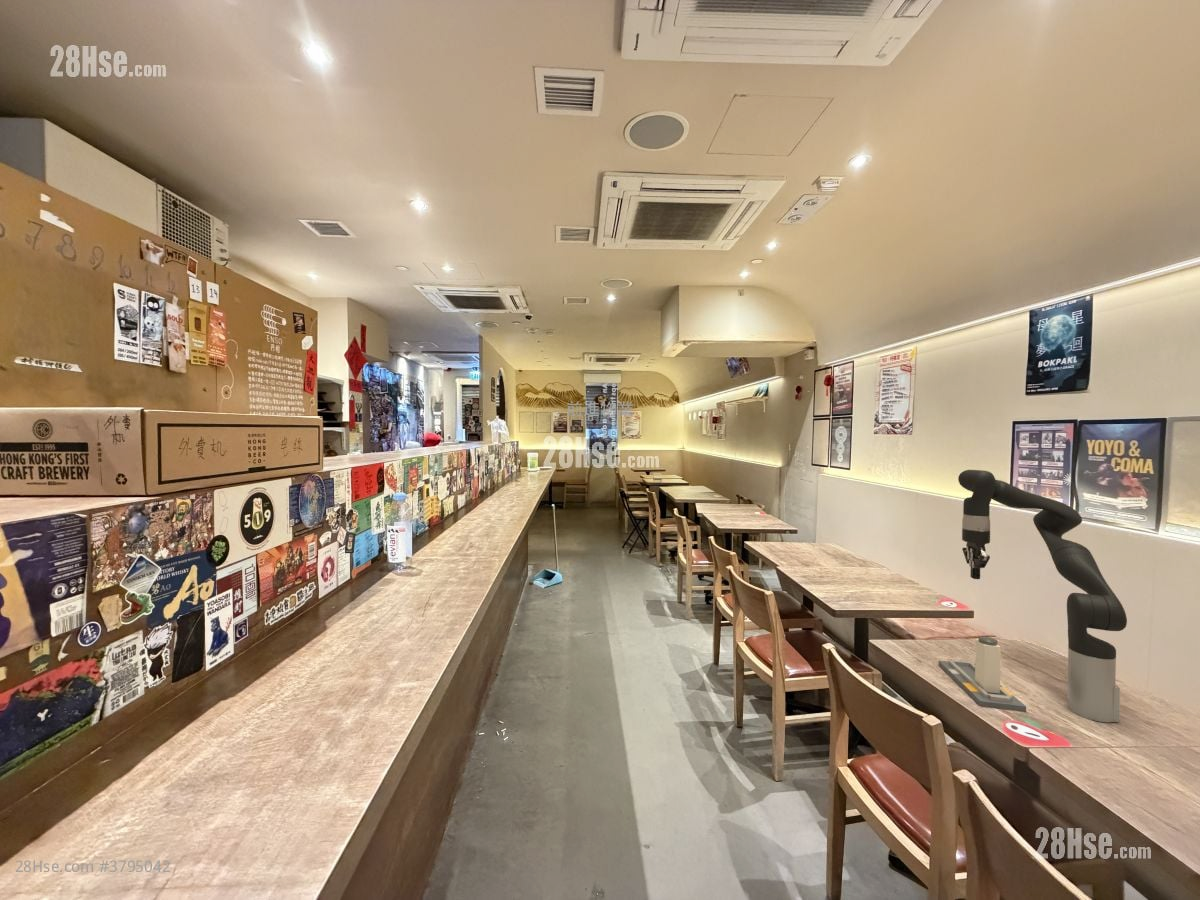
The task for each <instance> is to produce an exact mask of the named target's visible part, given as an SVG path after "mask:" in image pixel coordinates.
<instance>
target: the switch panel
mask: <svg viewBox="0 0 1200 900" xmlns="http://www.w3.org/2000/svg"><path fill="white" fill-rule="evenodd" d="M938 666H939V667H940V668H941V669H942V670H943V671H944V672H945V673H946V674H947V675H948V676H949V677H950V678H951V679H952V680H953V681H954V682H955V683H957V685H958V686H959V687H960V688H961V689H962V690H963V691H964V692H966V694H967V695H969V696H970V698H971V699H972V700H973V701H974V702H975V703H976V704H977V705H978V706H979V707H982V708H991V709H998V710H1000V709H1001V710H1008V711H1016V712H1025V713H1026V712H1027V705H1025V704H1024V703H1023V702H1021V701H1020V700H1019V699H1018V698H1017V697H1016V696H1014V694H1013V693H1011V692H1010V691H1009V690H1008V689H1007V688H1005V687H1004V686H1003V685H1001V684H1000V694H999V693H990V692H986V691H985V690H983V689H982V688H981V687H980V686H979V685H978V684H977V683H976V682H975V663H973V662H971V661H968V660H962V659H948V660H947V661H946V660H938Z"/></svg>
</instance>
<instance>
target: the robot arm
mask: <svg viewBox="0 0 1200 900" xmlns="http://www.w3.org/2000/svg"><path fill="white" fill-rule="evenodd" d="M957 479H958V484H959V485H960V486H961V487H962V488H963V489H965V490H967V491H969V492H971V493H972V495H971V496H970V497H966V498H964V499H963V507H962V508H963V509H962V510H963V511H962V512H963V513H962V514H963V515H962V520H961V521H962V523H961V525H962V527H961V540H962V541H963V542H965V543H966V547H962V553H963V556H964V559H965V561H966V564H967V565H969V568H970V574H969V575H970V578H972V579H973V580H980V579H981V569H985V568H986V566H987V564H988V562H989V561H990V559H991V556H990V555H989V554H986V545H988V544H990V543H991V518H990V508H991V507H990V505H991V502H992V501H994V502H996V503H1000V504H1001V505H1003V506H1005V507H1009V508H1015V509H1031V510H1032V509H1033V510H1040V511H1039V512H1038V513H1036V514H1035V515H1034V516H1033V518H1032V521H1033V524H1034V526H1035V528H1036V530H1037V531H1038V534H1040V536H1041V538H1042V539H1043V541H1044V543H1045V545H1046V547H1047V549H1048V550H1049V553H1050V556H1051V558H1052V561H1053V564H1054V566H1055V568H1056V570H1057V572H1058V574H1060V576H1061V577H1062V578H1064V579H1065V580H1067V581H1068V582H1070V583H1071V584H1072V585H1074V586H1076V587H1077V588H1079V589H1081V590H1082V591H1083V592H1085V593H1081V592H1071V593H1070V594H1069V595H1068V597H1067V599H1066V615H1067V639H1068V645H1067V647H1068V648H1067V649H1068V650H1067V655H1068V656H1067V699H1066V701H1067V702H1066V703H1067V704H1066V705H1067V709H1068V710H1069V711H1070V712H1072V713H1074V714H1076V715H1078V716H1079V717H1082V718H1086V719H1087V720H1091V721H1096V722H1099V723H1120V700H1121V699H1120V698H1121V697H1120V694H1121V692H1120V691H1121V689H1120V688H1121V687H1120V686H1119V685H1117V683H1116V682H1117V681H1116V680H1117V679H1116V676H1117V675H1116V672H1117V671H1116V670H1117V669H1116V667H1117V666H1116V665H1117V663H1116V662H1117V650H1116V647H1115V646H1114V645H1113V644H1112V643H1109V642H1108V641H1105V640H1102V639H1100V638H1098V637H1096V636H1093V635H1091V634H1090V633H1088V629H1094V630H1101V631H1106V632H1122V631H1123V630H1124V629H1126V627H1127V624H1128V618H1127V613H1126V611H1125V608H1124V607H1123V604H1122V602H1121V601H1120V600H1119V598H1118V597H1117V595H1116V594H1115V592H1114V591H1113V589H1112V588H1111V586H1110V585H1109V584H1108V582H1107V581H1106V579H1105V578H1104V576H1103V574H1102V572H1101V570H1100V568H1099V565H1098V564H1097V562H1096V560H1095V558H1094V556H1093V554H1092V552H1091V551H1090V550H1089V549H1088V548H1087V547H1086V546H1084V545H1083V544H1080V543H1078V542H1074V541H1072V540H1069V539H1065V538H1063V535H1065V534H1067V533H1068V532H1069V531H1072V530H1073V529H1074V528H1077V526H1079V525H1080V524H1082V523H1083V517H1082V516H1081V515H1080V513H1079V512H1078V511H1077V510H1076V509H1074V508H1073V507H1072V506H1070V505H1068V504H1066V503H1063V502H1061V501H1059V500H1055V499H1053V498H1049V497H1045V496H1042V495H1038V494H1035V493H1032V492H1028V491H1025V490H1023V489H1020V488H1019V487H1016V486H1014V485H1013V484H1011V483H1008V482H1006V481H1004V480H999V479H996V477H995V475H994V474H993V473H992V472H991V471H989V470H983V469H981V470H980V469H966V470H963V471H962V472H960V473H959V475H958V478H957Z"/></svg>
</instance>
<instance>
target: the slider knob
mask: <svg viewBox="0 0 1200 900" xmlns="http://www.w3.org/2000/svg"><path fill="white" fill-rule="evenodd" d="M974 647H975V650H974V651H975V653H974V654H975V659H974V664H975V682H976V683H977V684H978V685H979V686H980V687H981V688H982V689H983V690H985V691H986V692H990V693H999V694H1000V685H1001V656H1002V655H1001V650H1002V649H1001V646H1000V645H998V640H997V639H996V638H993V637H989V636H984V635H981V636H978V637H977V638H975V646H974Z"/></svg>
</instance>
